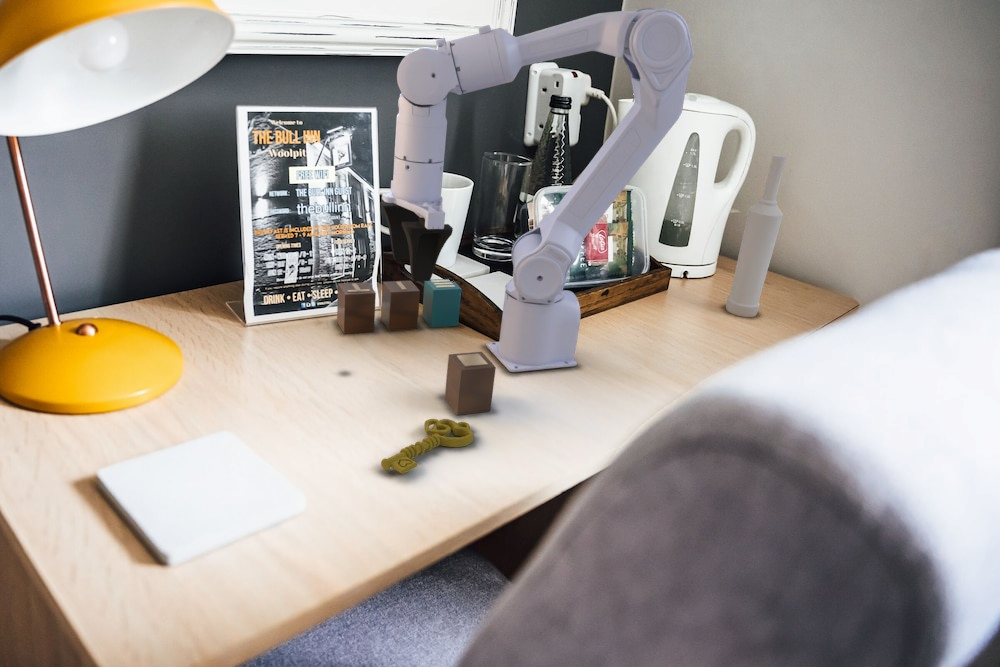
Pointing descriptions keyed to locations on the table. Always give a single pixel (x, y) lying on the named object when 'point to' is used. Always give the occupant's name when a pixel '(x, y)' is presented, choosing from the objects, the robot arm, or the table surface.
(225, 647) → the table surface
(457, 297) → the teal rectangular block
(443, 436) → the key
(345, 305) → the tile
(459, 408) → the brown tall block
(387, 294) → the tile
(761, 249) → the bottle
